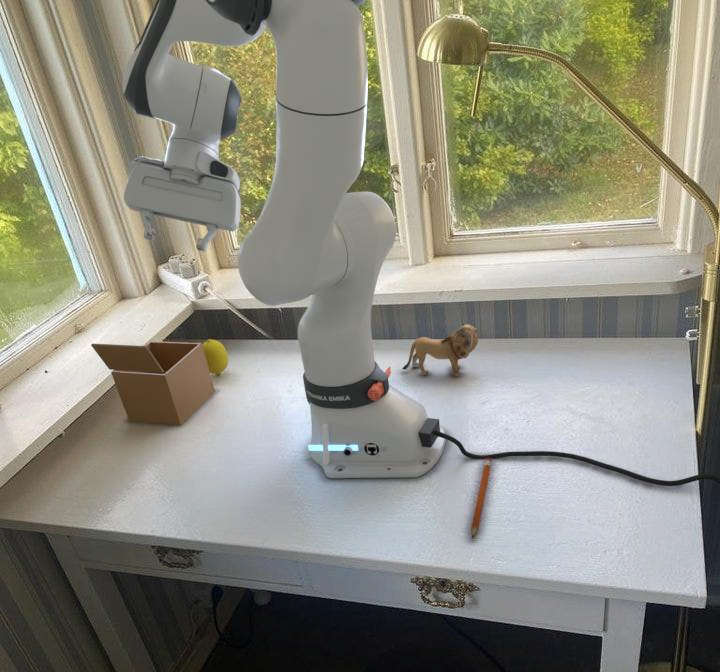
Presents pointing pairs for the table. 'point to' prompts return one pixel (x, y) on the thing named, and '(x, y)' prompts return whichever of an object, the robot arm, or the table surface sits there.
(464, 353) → the lion figurine
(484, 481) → the pencil
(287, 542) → the table surface
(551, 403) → the table surface
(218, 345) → the lemon
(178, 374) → the carton
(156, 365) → the flap
